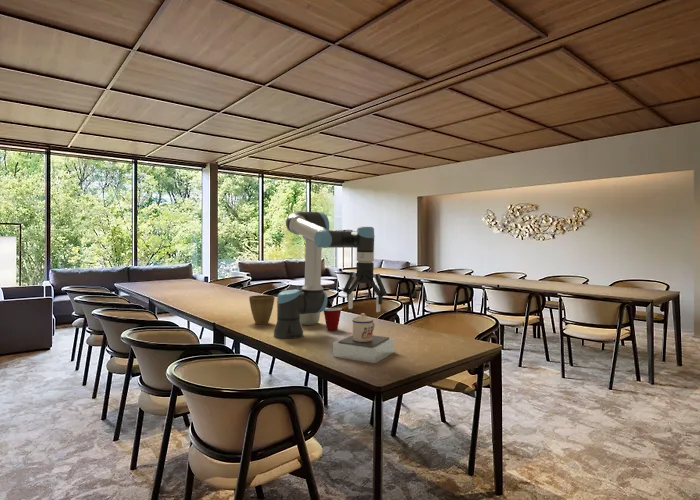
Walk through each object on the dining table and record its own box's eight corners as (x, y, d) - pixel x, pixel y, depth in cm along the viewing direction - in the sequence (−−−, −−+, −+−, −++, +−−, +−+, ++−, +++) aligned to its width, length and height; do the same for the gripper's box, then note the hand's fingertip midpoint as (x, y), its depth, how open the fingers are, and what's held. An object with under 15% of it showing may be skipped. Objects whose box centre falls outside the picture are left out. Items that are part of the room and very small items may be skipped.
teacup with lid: (363, 343, 179) (363, 316, 179) (347, 339, 185) (348, 313, 185) (381, 338, 188) (381, 312, 187) (366, 335, 194) (366, 310, 194)
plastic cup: (332, 326, 244) (332, 306, 244) (345, 329, 236) (345, 308, 236) (318, 329, 237) (318, 308, 236) (331, 332, 229) (331, 310, 229)
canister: (328, 322, 257) (328, 287, 257) (313, 327, 241) (313, 290, 240) (302, 319, 265) (302, 286, 264) (286, 325, 248) (286, 289, 248)
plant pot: (279, 323, 253) (279, 296, 252) (258, 326, 242) (258, 298, 242) (264, 319, 263) (265, 294, 263) (244, 323, 252) (244, 296, 252)
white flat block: (332, 356, 183) (333, 341, 183) (359, 344, 205) (359, 330, 205) (375, 363, 173) (375, 347, 173) (398, 349, 195) (398, 335, 195)
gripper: (336, 261, 188) (335, 308, 189) (387, 263, 176) (386, 314, 177) (344, 260, 195) (343, 306, 196) (394, 262, 183) (393, 311, 184)
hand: (364, 310), depth 187 cm, fingers open, 13 cm apart
